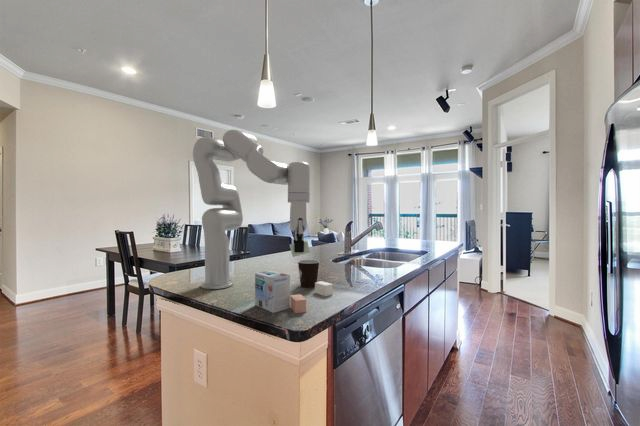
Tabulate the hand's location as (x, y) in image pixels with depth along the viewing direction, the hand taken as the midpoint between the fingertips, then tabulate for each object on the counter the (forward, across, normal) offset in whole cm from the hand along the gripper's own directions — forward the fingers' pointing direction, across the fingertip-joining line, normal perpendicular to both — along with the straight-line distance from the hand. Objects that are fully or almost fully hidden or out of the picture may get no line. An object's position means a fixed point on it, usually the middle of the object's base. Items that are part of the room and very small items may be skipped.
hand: (298, 250), depth 107 cm
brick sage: (+1, 0, +1) cm, 1 cm away
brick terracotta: (+17, +10, -1) cm, 20 cm away
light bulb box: (+17, +6, -9) cm, 20 cm away
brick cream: (+17, -6, +10) cm, 21 cm away
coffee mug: (+17, -19, +6) cm, 26 cm away
